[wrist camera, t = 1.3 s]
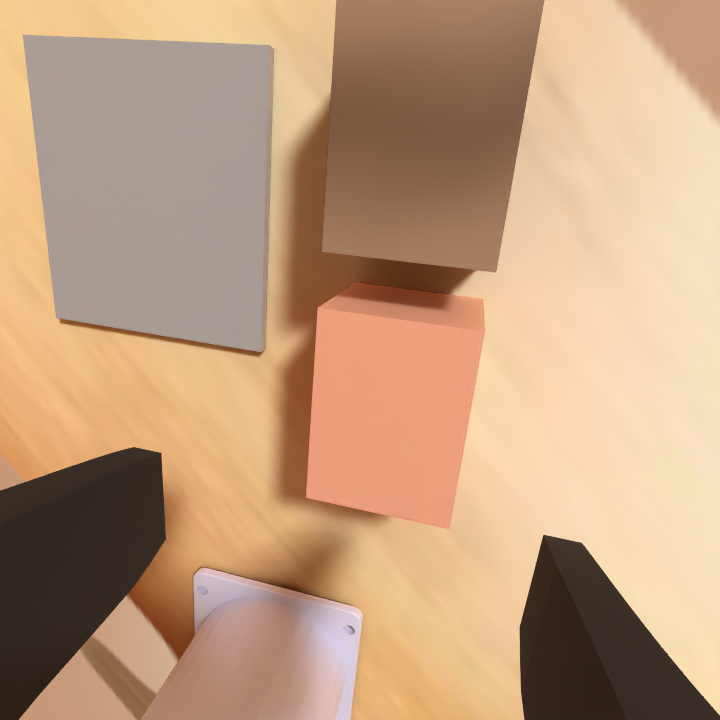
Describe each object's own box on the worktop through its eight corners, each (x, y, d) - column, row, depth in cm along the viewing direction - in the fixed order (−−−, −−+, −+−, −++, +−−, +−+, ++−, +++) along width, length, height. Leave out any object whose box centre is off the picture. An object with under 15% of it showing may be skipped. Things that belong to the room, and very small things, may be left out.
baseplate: (265, 349, 19) (261, 352, 18) (63, 315, 20) (56, 317, 20) (273, 48, 15) (268, 45, 15) (32, 38, 17) (23, 34, 17)
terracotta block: (456, 454, 18) (449, 529, 14) (343, 433, 19) (306, 497, 15) (482, 298, 16) (484, 331, 12) (356, 281, 17) (317, 307, 13)
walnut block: (492, 253, 16) (496, 272, 12) (361, 238, 17) (321, 251, 13) (528, 40, 14) (549, -27, 10) (378, 36, 15) (337, -28, 11)
